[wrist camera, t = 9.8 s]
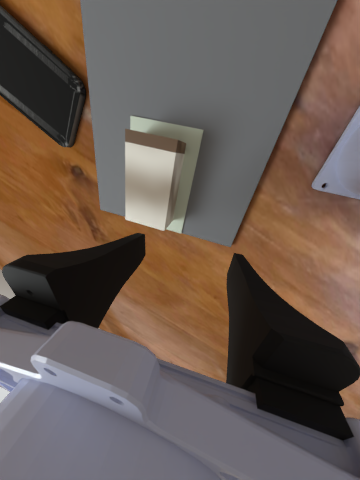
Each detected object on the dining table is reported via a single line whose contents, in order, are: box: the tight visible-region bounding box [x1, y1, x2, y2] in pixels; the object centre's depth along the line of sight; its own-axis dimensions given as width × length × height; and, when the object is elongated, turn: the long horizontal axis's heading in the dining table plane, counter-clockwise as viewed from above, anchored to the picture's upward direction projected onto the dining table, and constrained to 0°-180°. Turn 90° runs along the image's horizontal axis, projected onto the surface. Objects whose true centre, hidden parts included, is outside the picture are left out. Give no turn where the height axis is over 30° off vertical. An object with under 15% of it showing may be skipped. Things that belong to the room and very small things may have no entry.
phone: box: [0, 6, 86, 147], centre depth 17 cm, size 8×1×15 cm
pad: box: [130, 116, 204, 233], centre depth 19 cm, size 12×8×1 cm, turn 169°
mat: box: [80, 0, 337, 247], centre depth 16 cm, size 20×24×1 cm
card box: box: [125, 129, 186, 231], centre depth 17 cm, size 9×5×4 cm, turn 169°
